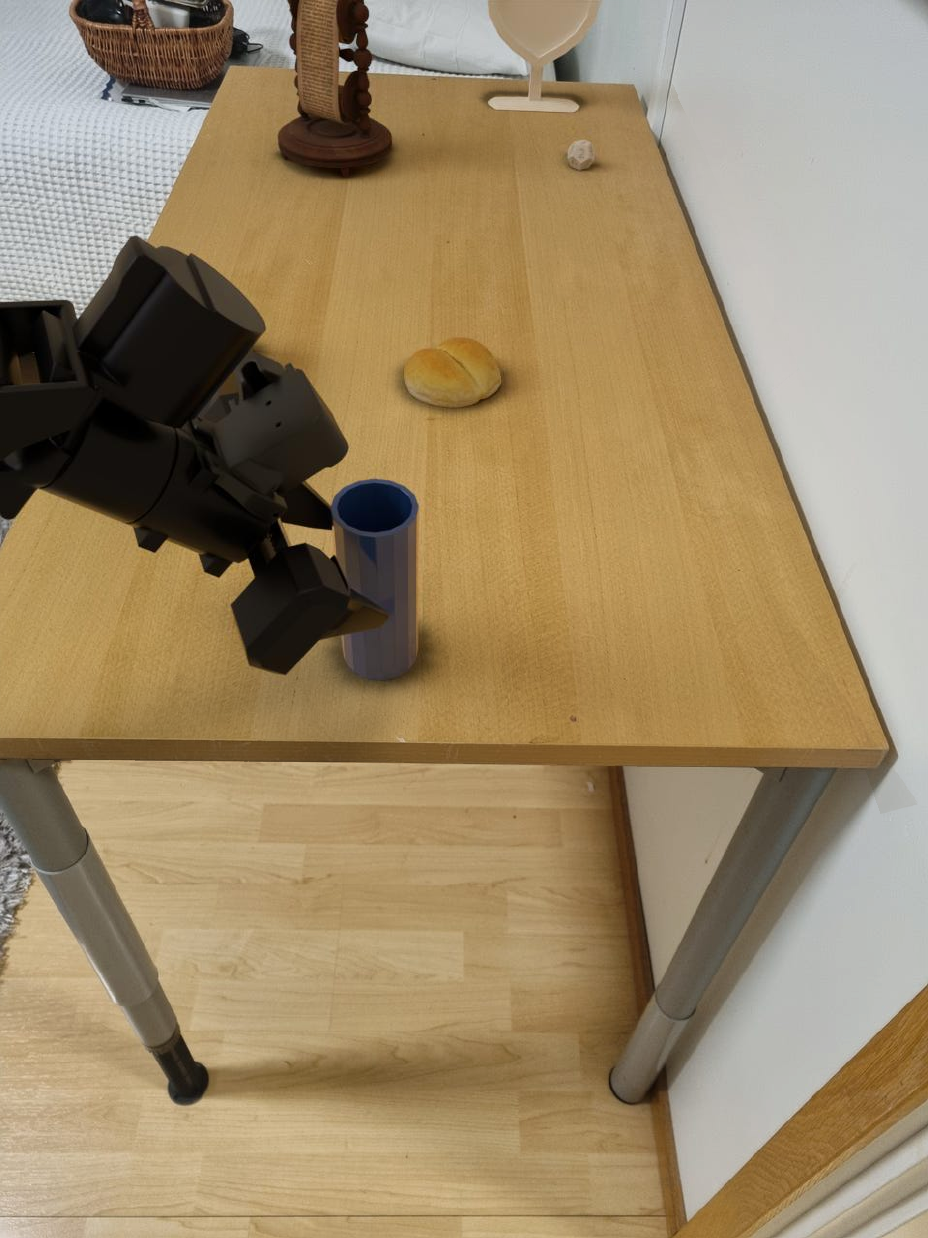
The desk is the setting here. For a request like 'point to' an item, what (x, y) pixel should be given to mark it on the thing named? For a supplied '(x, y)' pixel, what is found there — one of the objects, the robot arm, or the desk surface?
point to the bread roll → (452, 373)
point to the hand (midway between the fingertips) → (359, 569)
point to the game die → (581, 154)
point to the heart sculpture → (540, 42)
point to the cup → (380, 572)
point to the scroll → (332, 89)
